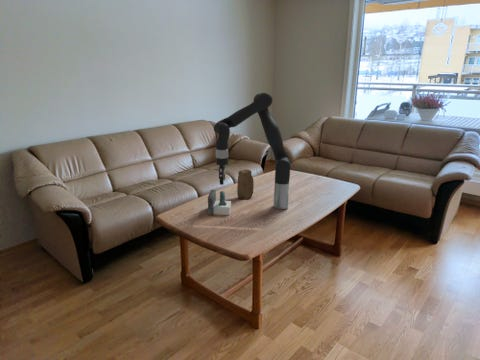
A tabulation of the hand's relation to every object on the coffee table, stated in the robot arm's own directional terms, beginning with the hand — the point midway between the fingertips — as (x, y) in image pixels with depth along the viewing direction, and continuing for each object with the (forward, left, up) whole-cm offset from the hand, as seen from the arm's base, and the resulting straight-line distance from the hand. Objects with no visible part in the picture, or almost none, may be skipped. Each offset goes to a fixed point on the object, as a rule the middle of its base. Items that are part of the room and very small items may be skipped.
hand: (222, 182), depth 208 cm
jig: (-2, 0, -21) cm, 21 cm away
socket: (0, 0, -20) cm, 20 cm away
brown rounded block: (-13, -28, -21) cm, 38 cm away
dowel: (0, 0, -19) cm, 19 cm away
